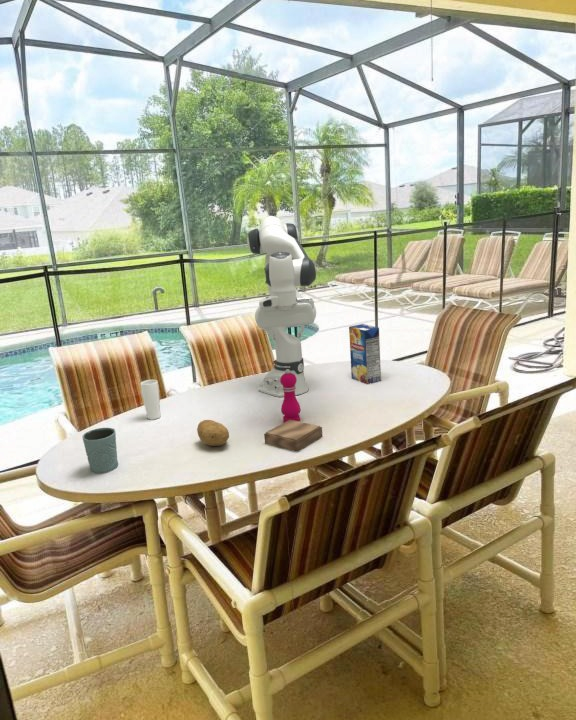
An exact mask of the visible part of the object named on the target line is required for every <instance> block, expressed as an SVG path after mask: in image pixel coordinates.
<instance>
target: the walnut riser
mask: <svg viewBox="0 0 576 720" xmlns="http://www.w3.org/2000/svg"><path fill="white" fill-rule="evenodd" d="M263 437H264V444H265V445H270V446H271V447H273V446H274V447H277V448H280V449H285V450H289V451H293V452H297V453H299V452H300V451H302V450H303V449H305V448H307V447H309V446H310V445H312V444H313V443H315V442H317V441H318V440H320V439H321V438H323V427H322V426H321V425H317V424H314V423H313V424H312V423H307V422H303V421H294V420H288V421H286V422H284V421H283V423H281V424H279V425H277V426H275V427H273V428H272V429H270V430H268V431H266V432H265V433H263Z"/></svg>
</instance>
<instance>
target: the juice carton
mask: <svg viewBox="0 0 576 720" xmlns="http://www.w3.org/2000/svg"><path fill="white" fill-rule="evenodd" d="M348 330H349V331H348V333H349V334H348V335H349V351H350V355H349V357H350V370H351V372H350V373H351V379H352V380H354V381H356V382H359V381H360V383H363V384H365V385H370V383H371V384H374V383H378V382H382V376H381V375H382V372H381V350H380V349H381V345H380V344H381V343H380V327H377V326H373V325H368V324H365V323H361V324H355V325H350V326H348Z"/></svg>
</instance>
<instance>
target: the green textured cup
mask: <svg viewBox="0 0 576 720" xmlns="http://www.w3.org/2000/svg"><path fill="white" fill-rule="evenodd" d="M82 441H83V445H84V449H85V453H86V456H87V462H88V464H89V465H88V466H89V470H90V471H91V473H92V474H96V475H97V474H98V475H99V474H106V473H109V472H111V471H114V470H116V469H117V468H118V465H119V463H118V451H117V436H116V430H115V428H112V427H99V428H93V429H91V430H89V431H86V432H85V433H84V434H83V435H82Z"/></svg>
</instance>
